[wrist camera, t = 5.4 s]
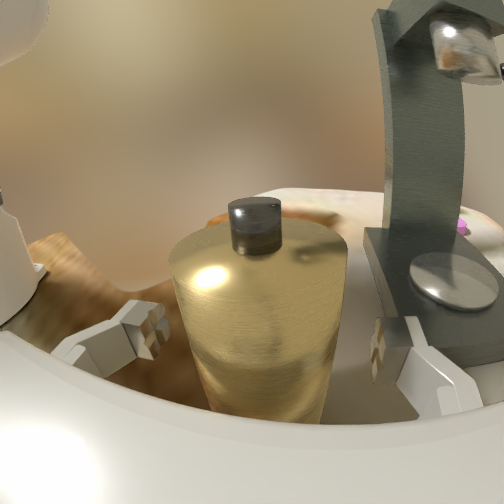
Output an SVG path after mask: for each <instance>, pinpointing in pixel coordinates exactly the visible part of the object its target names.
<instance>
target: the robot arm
mask: <svg viewBox="0 0 504 504" xmlns="http://www.w3.org/2000/svg"><path fill="white" fill-rule="evenodd" d="M48 14H49V5H48V0H0V66H2V65H4V64H6V63H8V62H10V61H12V60H14V59H16V58H18V57H20V56H22V55H24V54H26V53H28V52H29V51H30V50H31V49H32V48H33V47H34V45H35V44H36V43H37V41H38V40H39V38H40V36H41V35H42V33H43V31H44V29H45V26H46V23H47V20H48ZM2 204H3V200H2V195H1V188H0V325H2V324H3V323H5V322H6V321H7V320H9V319H10V318H11V317H12V316H14V315H15V314H16V313H17V312H18V311H19V310H20V309H21V308H22V307H23V306H24V305H25V304H26V303H27V302H28V301H29V299H30V298H31V297H32V295H33V294H34V292H35V290H36V288H37V284H38V282H39V280H40V279H41V278H42V277H43V276H44V275H45V273H46V272H47V270H46V268H45V266H44V265H43V264H35V263H33V261H32V258H31V256H30V253H29V251H28V248H27V245H26V243H25V240H24V238H23V234H22V232H21V229H20V226H19V223H18V220H17V219H16V218H15V217H13V216H11V215H9V214H7V213H6V212H5V211H4V210H3V208H2V206H1V205H2ZM165 313H166V311H165V308H164V305H162V304H160V303H154V302H148V301H141V300H135V299H131V300H129V301H128V302H127V303H126V304H125V305H124V306H123V307H122V308H121V309H120V310H119V311H118V312H117V313H116V314H115V315H114V317H113V318H112V319H111V320H106V321H103V322H101V323H99V324H96V325H94V326H92V327H90V328H87V329H85V330H83V331H80V332H78V333H76V334H73V335H71V336H69V337H66V338H64V339H63V341H62V342H61V343H60V344H59V345H58V346H57V347H56V348H55V349H54V350H53V351H52V352H51V353H50V354H48V353H46V352H45V351H43V350H41V349H39V348H37V347H35V346H34V345H32V344H30V343H28V342H27V341H25V340H23V339H22V338H20V337H18V336H17V335H15V334H14V333H12V332H10V331H7V330H6V331H1V332H0V504H504V401H501V402H498V403H494V404H491V405H487V406H484V405H483V402H482V399H481V396H480V393H479V390H478V387H477V385H476V382H475V380H474V379H473V378H472V377H470V376H469V375H468V374H467V373H465V372H464V371H463V370H462V369H460V368H459V367H458V366H457V365H455V364H454V363H453V362H452V361H450V360H449V359H448V358H447V357H445V356H444V355H443V354H441V353H440V352H439V351H438V350H436V349H435V348H434V347H433V346H428V344H427V341H426V338H425V336H424V333H423V330H422V328H421V325H420V323H419V320H418V318H417V317H416V316H405V317H378V318H377V319H376V322H375V332H376V333H375V334H374V335H372V339H371V344H370V360H371V361H372V362H373V363H374V364H373V367H372V376H373V384H393V383H396V384H395V385H396V386H397V387H398V388H399V390H400V391H401V392H402V393H403V395H404V396H405V397H406V398H407V400H408V401H409V402H410V404H411V405H412V406H413V407H414V409H415V410H416V411H417V412H418V414H419V415H420V416H419V418H418V419H417V420H413V421H404V422H394V423H381V424H361V425H321V424H301V423H287V422H277V421H267V420H259V419H252V418H245V417H239V416H233V415H227V414H222V413H217V412H212V411H207V410H203V409H198V408H194V407H190V406H186V405H182V404H178V403H174V402H171V401H167V400H163V399H160V398H157V397H153V396H150V395H147V394H144V393H141V392H138V391H135V390H132V389H129V388H126V387H123V386H121V385H118V384H115V383H113V382H110V381H107V380H105V378H107V377H108V376H110V375H111V374H113V373H114V372H116V371H118V370H119V369H121V368H122V367H124V366H125V365H127V364H128V363H130V362H131V361H133V360H134V359H136V358H137V357H141V358H145V359H149V360H154V359H155V358H156V356H157V355H158V353H159V352H160V350H161V347H160V345H162V344H164V343H165V342H166V341H167V340H168V338H169V335H170V324H169V321H168V320H167V319H166V317H165V316H164V315H165Z"/></svg>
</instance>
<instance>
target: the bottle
mask: <svg viewBox="0 0 504 504" xmlns="http://www.w3.org/2000/svg"><path fill="white" fill-rule="evenodd" d="M228 212H229V221H227V222H223V223H219V224H215V225H212V226H209V227H206V228H203V229H201V230H199V231H196V232H194V233H192V234H190V235H189V236H187V237H185V238H184V239H183V240H181V241H180V242H179V243H178V244H177V245H175V247H174V248H173V249H172V251H171V253H170V255H169V259H168V262H169V268H170V272H171V277H172V281H173V285H174V289H175V293H176V297H177V301H178V305H179V309H180V313H181V316H182V320H183V324H184V327H185V331H186V334H187V338H188V341H189V344H190V348H191V351H192V354H193V358H194V361H195V364H196V367H197V370H198V373H199V376H200V379H201V382H202V385H203V388H204V391H205V394H206V397H207V400H208V403H209V405H210V408H211V411H212V412H217V413H222V414H227V415H233V416H239V417H245V418H252V419H259V420H267V421H277V422H287V423H301V424H320V420H321V416H322V412H323V407H324V403H325V399H326V394H327V390H328V385H329V380H330V375H331V370H332V365H333V360H334V354H335V348H336V343H337V336H338V330H339V324H340V317H341V309H342V302H343V293H344V285H345V275H346V265H347V253H348V248H347V244H346V242H345V241H344V239H343V238H342V237H341V236H340V235H339V234H338V233H336V232H335V231H333V230H332V229H330V228H328V227H325V226H323V225H320V224H317V223H314V222H310V221H306V220H301V219H294V218H285V217H281V201H280V200H279V199H276V198H272V197H249V198H243V199H238V200H235V201H232V202H231V203H229V204H228Z"/></svg>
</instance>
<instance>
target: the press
mask: <svg viewBox="0 0 504 504" xmlns="http://www.w3.org/2000/svg"><path fill="white" fill-rule="evenodd" d="M372 23H373V28H374V33H375V38H376V44H377V51H378V57H379V65H380V73H381V82H382V92H383V105H384V122H385V190H384V207H383V221H382V228H371V227H364V240H363V246H364V248H365V251H366V254H367V257H368V260H369V263H370V266H371V269H372V272H373V275H374V279H375V282H376V285H377V288H378V292H379V295H380V299H381V302H382V306H383V309H384V313H385V317H405V316H416V317H417V318H418V320H419V323H420V325H421V328H422V330H423V333H424V336H425V338H426V341H427V344H428V346H433V347H434V348H435V349H436V350H438V351H439V352H440V353H441V354H443V355H444V356H445V357H447V358H448V359H449V360H450V361H452V362H453V363H454V364H455V365H457V366H458V367H459V368H466V367H472V366H477V365H483V364H488V363H493V362H497V361H502V360H504V277H503V276H502V275H501V274H500V273H499V272H498V271H497V270H496V268H495V267H494V266H493V265H492V264H491V263H490V262H489V261H488V260H487V259H486V258H485V257H484V256H483V255H482V254H481V253H480V252H479V251H478V250H477V249H476V248H475V247H474V246H473V245H472V244H471V243H470V242H469V241H468V240H467V239H466V238H464V237H463V236H462V235H461V234H460V233H459V232H458V231H457V226H458V220H459V213H460V205H461V197H462V187H463V173H464V151H465V136H464V135H465V131H464V130H465V129H464V108H463V95H462V85H461V82H465V83H471V84H478V85H499V84H501V83H502V80H504V63H501V64H499V59H498V54H497V50H496V46H495V41H494V37H496V36H498V35H501V34H504V5H503V2H502V0H393V1H392V3H391V4H390V6H389V8H388V9H387V10H383V9H377V10H376V12H375V14H374V16H373V18H372Z"/></svg>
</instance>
